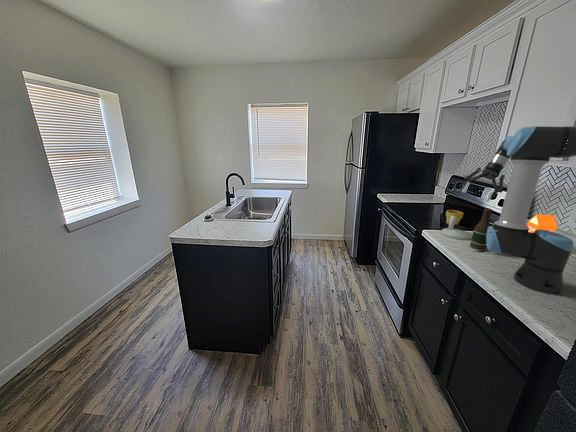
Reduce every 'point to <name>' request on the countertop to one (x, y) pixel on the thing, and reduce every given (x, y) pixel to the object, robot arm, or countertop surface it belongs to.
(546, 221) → the orange juice
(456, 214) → the plant pot
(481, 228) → the beer bottle
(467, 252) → the countertop surface
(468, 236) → the capstan dial
